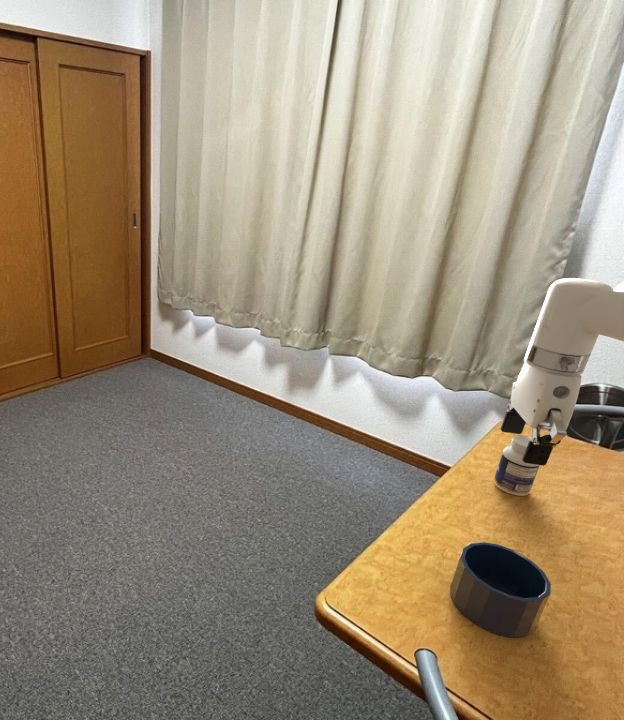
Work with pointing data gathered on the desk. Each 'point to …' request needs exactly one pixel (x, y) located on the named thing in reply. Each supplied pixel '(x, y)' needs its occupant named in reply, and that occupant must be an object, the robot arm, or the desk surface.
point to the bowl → (499, 589)
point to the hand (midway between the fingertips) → (521, 447)
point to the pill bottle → (515, 468)
